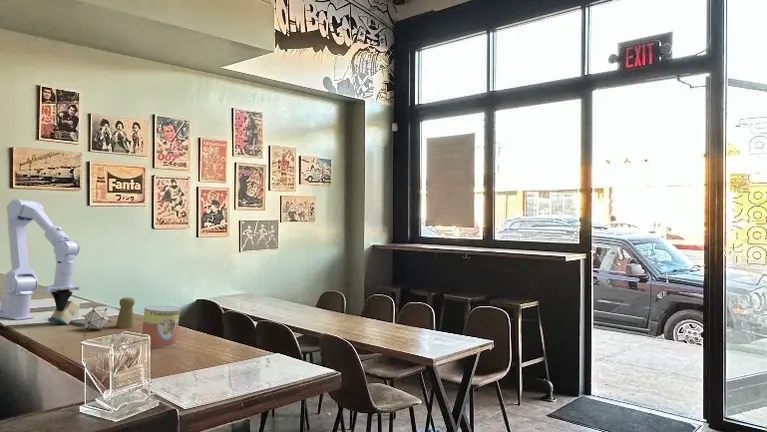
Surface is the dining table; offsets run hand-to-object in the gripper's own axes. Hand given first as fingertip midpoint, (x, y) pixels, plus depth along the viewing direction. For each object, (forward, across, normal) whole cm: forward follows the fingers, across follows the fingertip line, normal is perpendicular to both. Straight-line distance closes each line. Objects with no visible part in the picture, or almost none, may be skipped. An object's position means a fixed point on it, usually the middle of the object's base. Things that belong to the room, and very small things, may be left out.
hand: (59, 310), depth 205 cm
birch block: (+4, 0, 0) cm, 4 cm away
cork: (+5, +13, -18) cm, 23 cm away
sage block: (+5, +12, +7) cm, 15 cm away
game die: (+5, +2, -15) cm, 16 cm away
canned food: (+6, -2, -45) cm, 45 cm away
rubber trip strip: (+5, +4, 0) cm, 6 cm away
